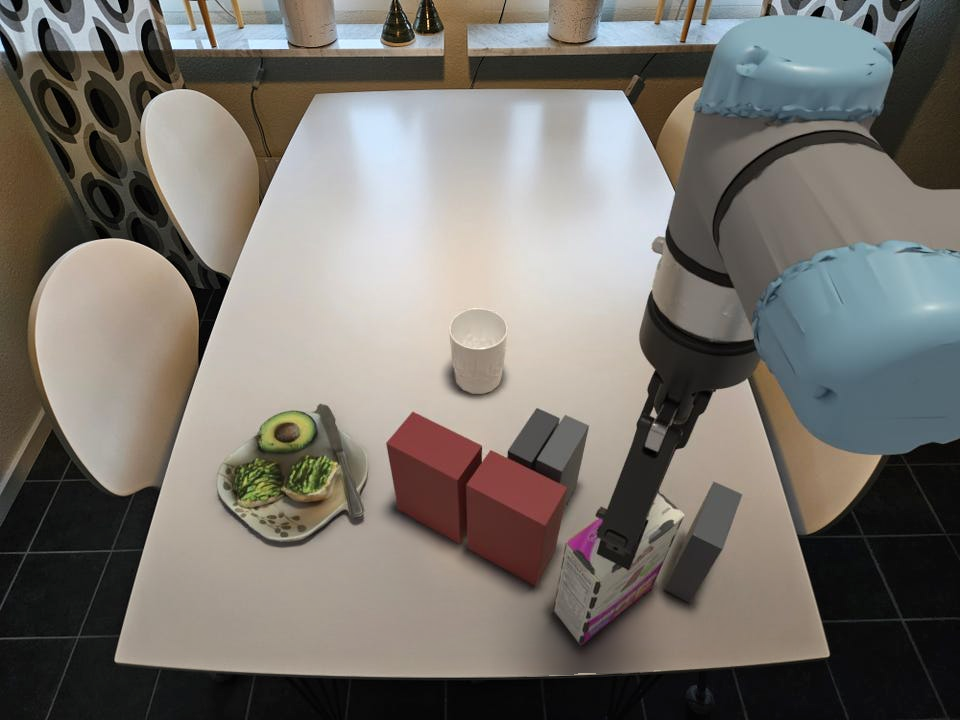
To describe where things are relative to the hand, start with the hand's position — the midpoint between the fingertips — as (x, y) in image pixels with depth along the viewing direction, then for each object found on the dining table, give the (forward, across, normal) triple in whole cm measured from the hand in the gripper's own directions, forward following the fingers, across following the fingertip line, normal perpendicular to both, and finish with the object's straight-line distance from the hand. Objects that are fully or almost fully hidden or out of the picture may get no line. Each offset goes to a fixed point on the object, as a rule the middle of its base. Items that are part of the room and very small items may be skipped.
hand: (645, 492), depth 54 cm
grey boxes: (+23, -8, -4) cm, 25 cm away
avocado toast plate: (+23, +4, -41) cm, 47 cm away
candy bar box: (+23, 0, -1) cm, 23 cm away
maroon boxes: (+23, 0, -17) cm, 29 cm away
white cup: (+23, -22, -29) cm, 43 cm away
